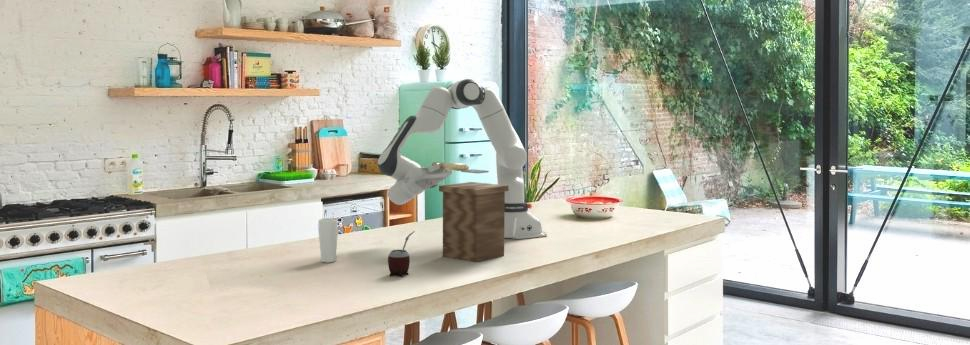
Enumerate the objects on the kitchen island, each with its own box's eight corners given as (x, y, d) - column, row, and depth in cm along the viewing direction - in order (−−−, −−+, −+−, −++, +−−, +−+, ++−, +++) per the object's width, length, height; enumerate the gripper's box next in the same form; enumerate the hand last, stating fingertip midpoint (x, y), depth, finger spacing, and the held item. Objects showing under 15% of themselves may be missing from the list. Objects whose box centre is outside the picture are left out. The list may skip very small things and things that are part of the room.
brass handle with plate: (428, 169, 327) (428, 162, 327) (439, 168, 332) (439, 161, 332) (478, 173, 312) (478, 166, 312) (488, 172, 317) (488, 165, 317)
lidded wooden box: (438, 256, 319) (438, 185, 317) (470, 249, 333) (470, 181, 330) (476, 262, 308) (477, 189, 305) (507, 255, 322) (508, 185, 319)
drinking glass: (340, 259, 311) (340, 218, 310) (335, 263, 305) (334, 221, 303) (321, 259, 312) (321, 217, 311) (316, 263, 305) (315, 220, 304)
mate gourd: (385, 273, 289) (385, 228, 288) (408, 272, 292) (408, 227, 290) (391, 278, 282) (391, 232, 281) (415, 276, 285) (415, 231, 283)
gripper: (397, 175, 328) (420, 158, 320) (433, 171, 344) (457, 155, 335) (403, 190, 326) (426, 174, 318) (439, 185, 342) (463, 170, 334)
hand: (442, 164), depth 327 cm, fingers closed on brass handle with plate, 3 cm apart
